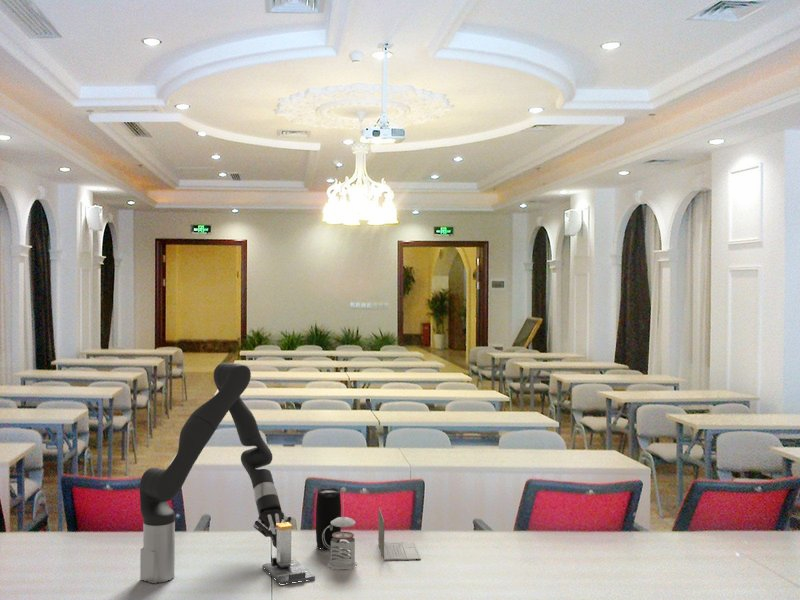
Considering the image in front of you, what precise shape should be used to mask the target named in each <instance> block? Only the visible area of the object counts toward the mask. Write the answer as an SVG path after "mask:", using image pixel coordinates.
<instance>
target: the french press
mask: <svg viewBox="0 0 800 600" xmlns="http://www.w3.org/2000/svg"><path fill="white" fill-rule="evenodd" d="M341 492H342V516H341V517H338V518H336V519H334V520H332V521H331V524H332V525H333V526H336V527H341V528H349V527H353V526H355V525H356V522H357V521H355V520H354V519H353V518H351V517H347V516H344V508H345V507H344V505H345V503H344V501H345V499H344V498H345V496H344V495H345V492H347V488H346V487H341V488H340V493H341ZM332 525H330V526H332ZM330 526H328V527H327V528H329V527H330ZM333 526H332V529H333ZM327 528H326V529H327ZM326 529H325V530H324V531H323V533H325V531H326ZM332 529H331V527H330V530H332ZM354 536H355V534H354V533H353V532H350V531H344V530H341V532H335V533H333V534H332V537H333V538H332V541H331V548H330V546H329V545H328V544H327V543H326V541H325V538H324V541H325V543H326V545H327V546H329V547H326V548H327V549H328V550H329V556H330V557H329V562H328V563H327V565H328V566H329V567H331V568H333V569H332V570H335V569H349V570H352V569H351V568H353V569H355V568H356V567H355V566H357V564H358V563H357V561H356V559H355V558H356V557H355V554H356V550H355V549H356V547H355V546H356V539H355V538H354ZM338 540H340V542H338V543H337V541H338ZM344 540H346V541H344ZM322 541H323V534H322ZM323 544H324V542H323ZM324 545H325V544H324ZM326 545H325V546H326ZM337 546H338V547H337ZM328 566H327V567H328ZM329 567H328V568H329ZM354 567H355V568H354ZM357 567H358V566H357ZM331 568H330V569H331Z"/></svg>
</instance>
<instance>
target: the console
mask: <svg viewBox="0 0 800 600" xmlns="http://www.w3.org/2000/svg"><path fill="white" fill-rule="evenodd" d="M263 567H264V568H265V570H266V571H267V572H268V573H270V575H271V576H272V577H273V578H275V579H276V581H277V582H278V583H280V584H286V583H292V582H298V581H306V580H313V581H316V576H315V575H314V574H313V573H312V572H310V571H309V569H307V567H305V566H304V565H303V564H302V563H300V562H299V560H297V559H296V558H295V559H294V558H293V559H291V566H290V567H284V568H281V567H280V566H279V565H278V564H277V562H276V557H271V562H269V563H263V564H262V568H263ZM265 570H264V571H265ZM266 571H265V572H266ZM267 572H266V573H267ZM268 573H267V574H268ZM270 575H269V576H270ZM271 576H270V577H271ZM272 577H271V578H272ZM273 578H272V579H273ZM276 581H275V582H276ZM277 582H276V583H277ZM278 583H277V584H278Z"/></svg>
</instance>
